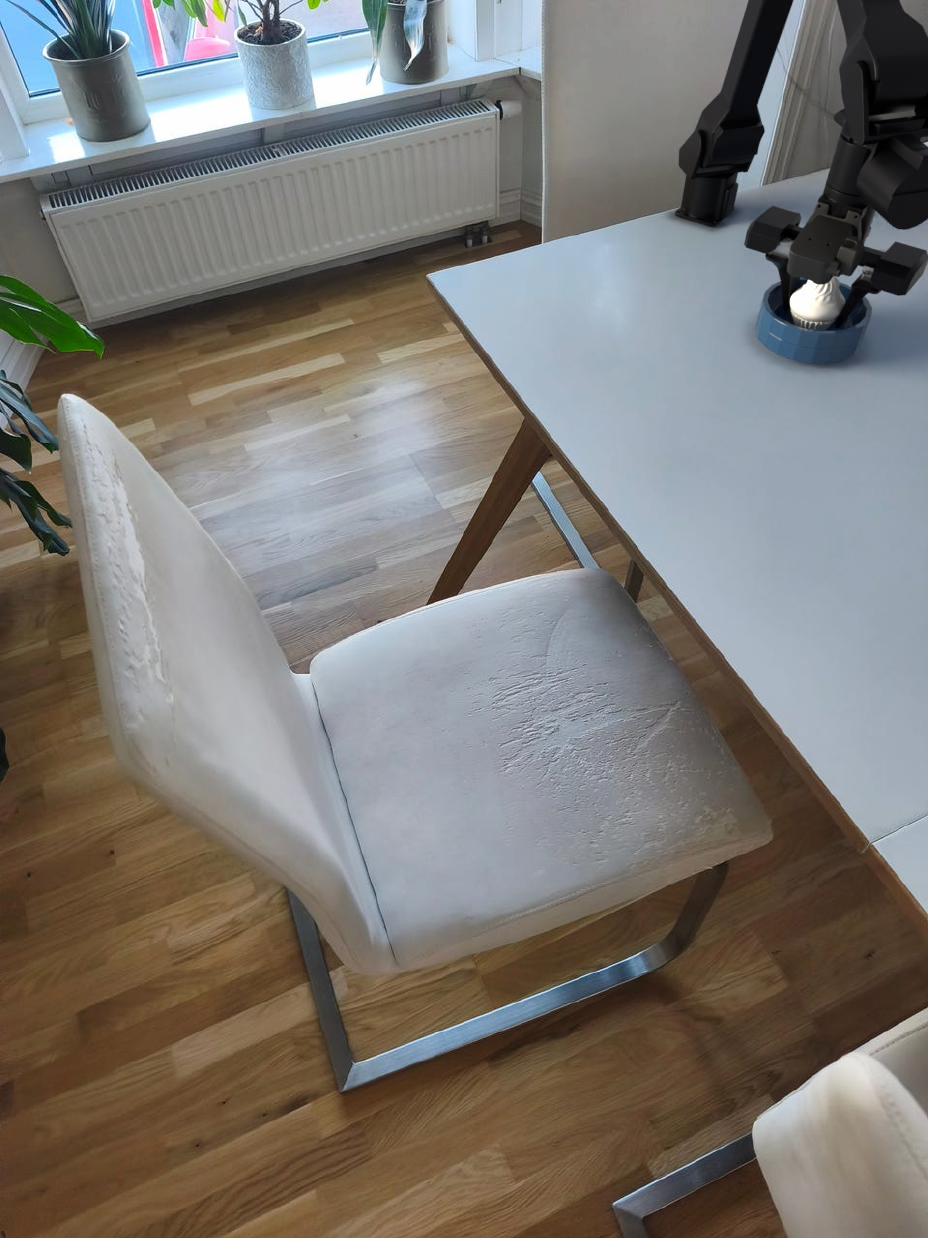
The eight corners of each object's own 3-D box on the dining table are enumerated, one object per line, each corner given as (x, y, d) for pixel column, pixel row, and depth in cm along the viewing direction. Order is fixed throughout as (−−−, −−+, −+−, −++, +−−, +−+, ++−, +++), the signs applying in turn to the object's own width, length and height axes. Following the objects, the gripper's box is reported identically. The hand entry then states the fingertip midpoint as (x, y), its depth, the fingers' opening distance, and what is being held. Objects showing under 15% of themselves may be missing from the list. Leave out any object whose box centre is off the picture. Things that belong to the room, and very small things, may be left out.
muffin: (783, 312, 104) (799, 257, 99) (836, 317, 103) (854, 263, 98) (781, 340, 101) (797, 285, 95) (835, 346, 99) (854, 291, 94)
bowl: (736, 344, 102) (744, 310, 99) (781, 300, 108) (790, 266, 105) (833, 380, 97) (846, 345, 94) (875, 331, 103) (888, 297, 100)
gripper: (737, 189, 89) (708, 323, 101) (916, 240, 81) (861, 379, 93) (784, 150, 94) (751, 282, 106) (956, 195, 86) (899, 332, 98)
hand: (811, 318), depth 101 cm, fingers closed on muffin, 6 cm apart
